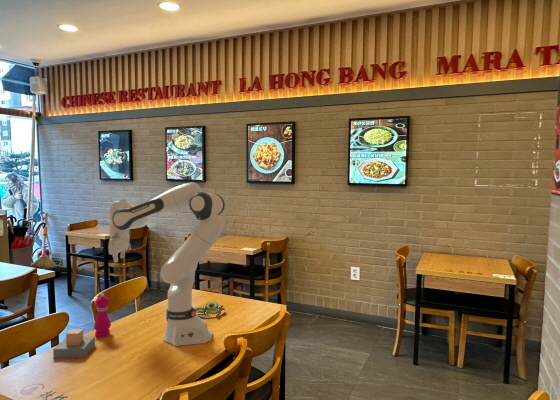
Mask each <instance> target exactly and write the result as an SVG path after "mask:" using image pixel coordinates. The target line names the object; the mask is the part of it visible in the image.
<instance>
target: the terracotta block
mask: <svg viewBox="0 0 560 400" xmlns="http://www.w3.org/2000/svg"><path fill="white" fill-rule="evenodd" d="M83 337H84V328H71V329H70V330H69V331H68V332H66V334H65V338H66V345H79V344H80V343H81V342H82V341H83Z"/></svg>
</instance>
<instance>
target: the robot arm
mask: <svg viewBox="0 0 560 400" xmlns="http://www.w3.org/2000/svg"><path fill="white" fill-rule="evenodd" d="M225 202H226V201H225V199H224V198H223V197H222V196H220V195H219V194H215V193H213V192H207V191H205V192H204V191H202V188H201V187H200V185H199V184H198V183H196V182H194V181H193V182H187V183H182V184H180V185H177V186H175V187H172V188H170V189H168V190H166V191H165V192H163V193H161V194H159V195H157V196H156V197H154V198H152V199H150V200H148V201H145V202H143V203H139V204H137V205H134V204H132V203H131V202H129V200H126V199H119V200H114V201H112V202H111V203H110V207H109V213H108V214H109V222H110V223H109V237H110V239H109V240H108V255H112V258H113V259H112V260H113V263H118V262H119V259H124V258H125V253H126V250H127V249H128V248H129V246H130V239H131V232H132V231H131V228H137V227H141V226H143V225H145V223H146V222H147V220H148V217H149V216H151V215H157V214H166V213H167V214H168V213H173V212H174V213H175V212H178V211H182V210H184V209H186V208H189V209H190V211H191V212H192V213H193V214H194V216H195V218H196V219H197V220H198V221H199V223H198V225H196V227H195V228H194V230H193V231H192V232H191V233H190V235H189V236H188V237H187V239H186V240H185V241H184V242H183V244H181V245H180V247H178V248H177V250H175V252H174V253H173V254H172V255H171V256H170V258H168V259H167V261H166V262H164V264H163V265H162V267H161V268H160V271H159V273H160V278H161V279H162V280H163V282H165V283H167V284H170V286H169V288H168V291H167V308H166V312H165V313H166V315H165V317H166V328H165V333H164V337H163V340H164V341H165V342H166V343H168V344H171V345H173V346H174V347H179V346H190V345H191V346H192V345H198V344H199V345H200V344H201V343H202V344H208V343H209V342H210V341H211V340H212V339H211V338H213V336H212V335H213V331H212V330H211V329H209V328H208V324H207V322H206V320H204V318H200V317H198V316H197V315H196V308H197V307H193V305H192V303H193V286H194V281H195V276H196V270H197V268H198V263H199V262H200V261H201V260H202V259H203V258H204V257H205V256H206V255H207V253H208V252H209V251H210V249H211V248H212V247H213V245H214V244H215V243H216V242H217V239H219V237H220V235H221V233H222V232H223V230H224V227H225V226H224V225H225V224H224V222H223V220H222V219H221V217H219V215H221V214H222V213H223V212H224V210H225V207H226V203H225ZM119 253H120V255H119ZM118 256H119V257H118ZM209 340H210V341H209ZM208 341H209V342H208ZM207 342H208V343H207ZM202 344H201V345H202Z"/></svg>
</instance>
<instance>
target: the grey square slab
mask: <svg viewBox="0 0 560 400" xmlns="http://www.w3.org/2000/svg"><path fill="white" fill-rule="evenodd" d="M95 346H96V336H83V341H82V342H81V343H80V344H79V345H66V337H65V338H63V340H62V341H60V342H59V343H58V344H57V345H56V346H55V347H54V348H53V351H52V352H53V353H52V354H53V359H83V358H85V357H86V356H87V355H88V354H89V353H90V351H91V350H92V349H93V348H94V347H95Z"/></svg>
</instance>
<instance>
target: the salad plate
mask: <svg viewBox="0 0 560 400" xmlns="http://www.w3.org/2000/svg"><path fill="white" fill-rule="evenodd" d="M218 306H221V307H219V308H218ZM202 307H203V308H202ZM204 307H205V308H204ZM222 307H223V308H224V306H223V305H222V304H221V305H219V303H218V301H217V302H216V301H210V302H209V301H208V302H207V303H206V304H205V306H198V307H195V308H196V313H205V312H206V313H207V314H214V315H215V314H217V313H218V314H217V315H216V317H215V318H219V317H221V316H220V314H221V311H222V309H223V308H222ZM218 309H219V310H218ZM196 315H197V314H196ZM197 316H199V317H210V316H208V315H206V316H205V315H201V314H199V315H197Z"/></svg>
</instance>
